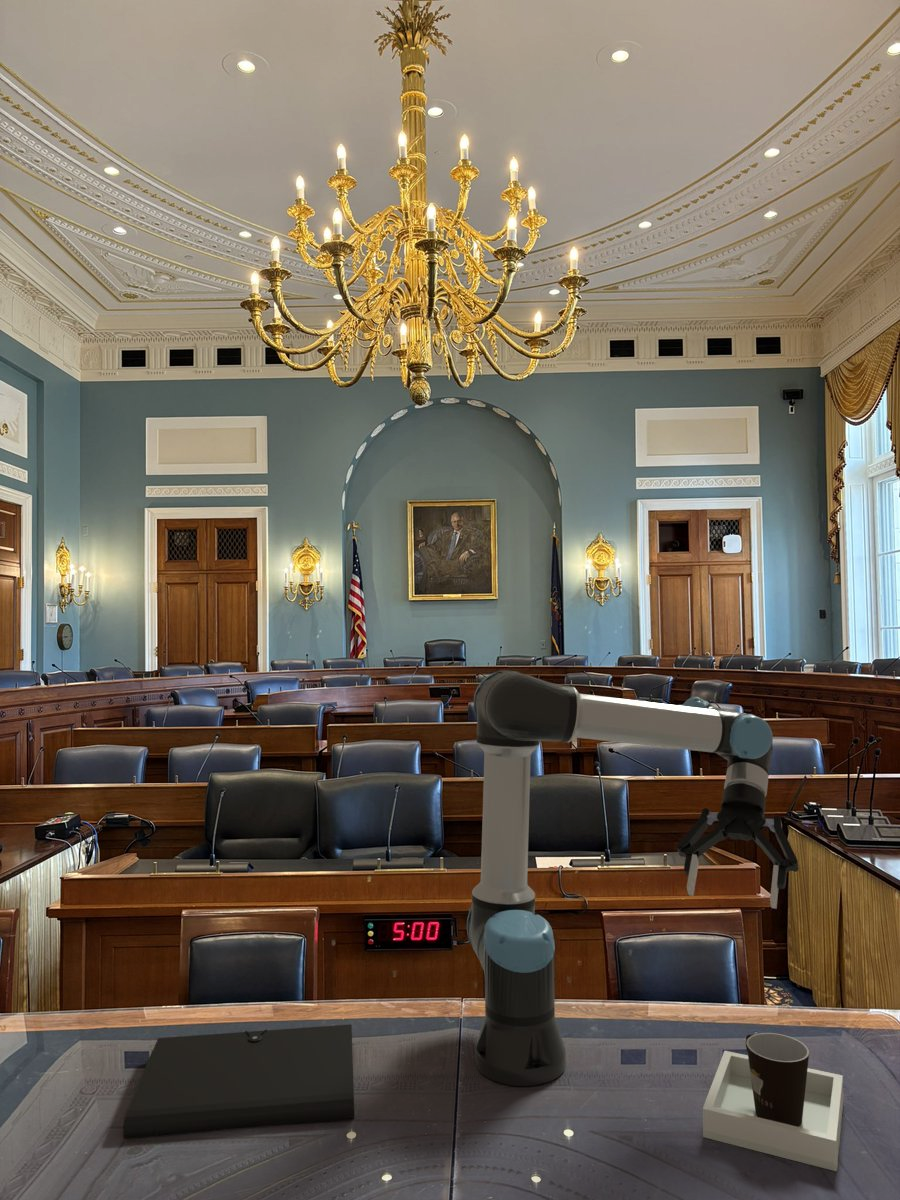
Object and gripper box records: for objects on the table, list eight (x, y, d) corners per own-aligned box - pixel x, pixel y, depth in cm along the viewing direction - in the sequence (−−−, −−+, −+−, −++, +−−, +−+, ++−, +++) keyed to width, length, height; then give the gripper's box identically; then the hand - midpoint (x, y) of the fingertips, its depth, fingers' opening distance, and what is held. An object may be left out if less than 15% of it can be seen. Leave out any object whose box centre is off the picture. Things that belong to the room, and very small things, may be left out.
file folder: (351, 1021, 151) (354, 1098, 127) (351, 1045, 151) (354, 1126, 127) (158, 1035, 146) (122, 1118, 123) (158, 1059, 146) (123, 1146, 123)
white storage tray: (703, 1137, 122) (702, 1108, 122) (725, 1075, 138) (724, 1050, 138) (836, 1171, 114) (836, 1141, 114) (843, 1102, 130) (842, 1075, 130)
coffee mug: (816, 1137, 120) (814, 1064, 120) (751, 1129, 122) (750, 1058, 122) (800, 1092, 131) (799, 1026, 131) (741, 1086, 133) (740, 1021, 133)
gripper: (819, 812, 155) (811, 921, 141) (680, 798, 166) (661, 897, 153) (816, 788, 150) (808, 897, 136) (673, 775, 162) (653, 875, 148)
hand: (730, 898), depth 144 cm, fingers open, 13 cm apart
